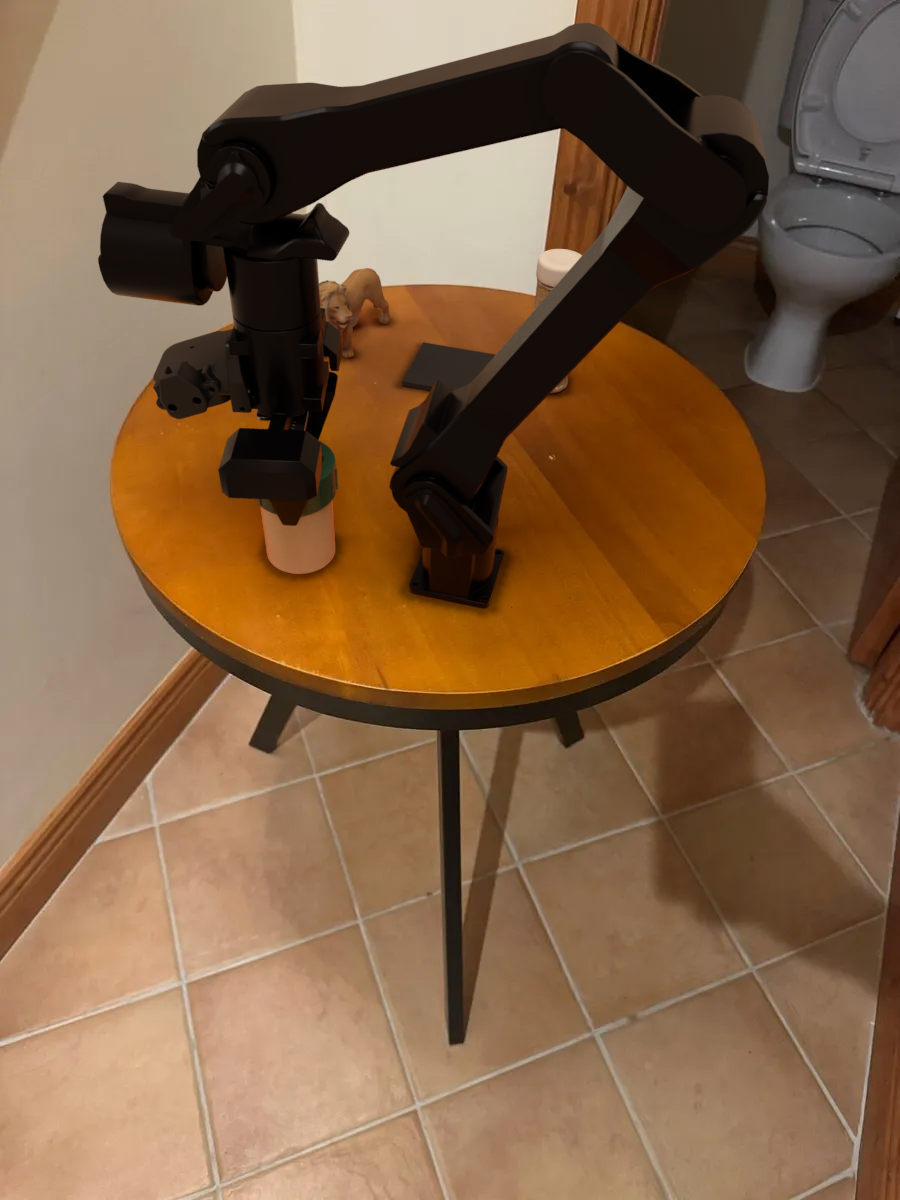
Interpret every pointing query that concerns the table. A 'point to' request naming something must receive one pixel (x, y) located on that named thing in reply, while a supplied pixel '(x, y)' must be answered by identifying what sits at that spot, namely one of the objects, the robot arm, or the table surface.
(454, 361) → the coaster
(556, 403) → the table surface
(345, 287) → the lion figurine
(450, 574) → the robot arm
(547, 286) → the spice bottle
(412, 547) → the table surface
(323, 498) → the lid
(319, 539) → the jar
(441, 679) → the table surface
